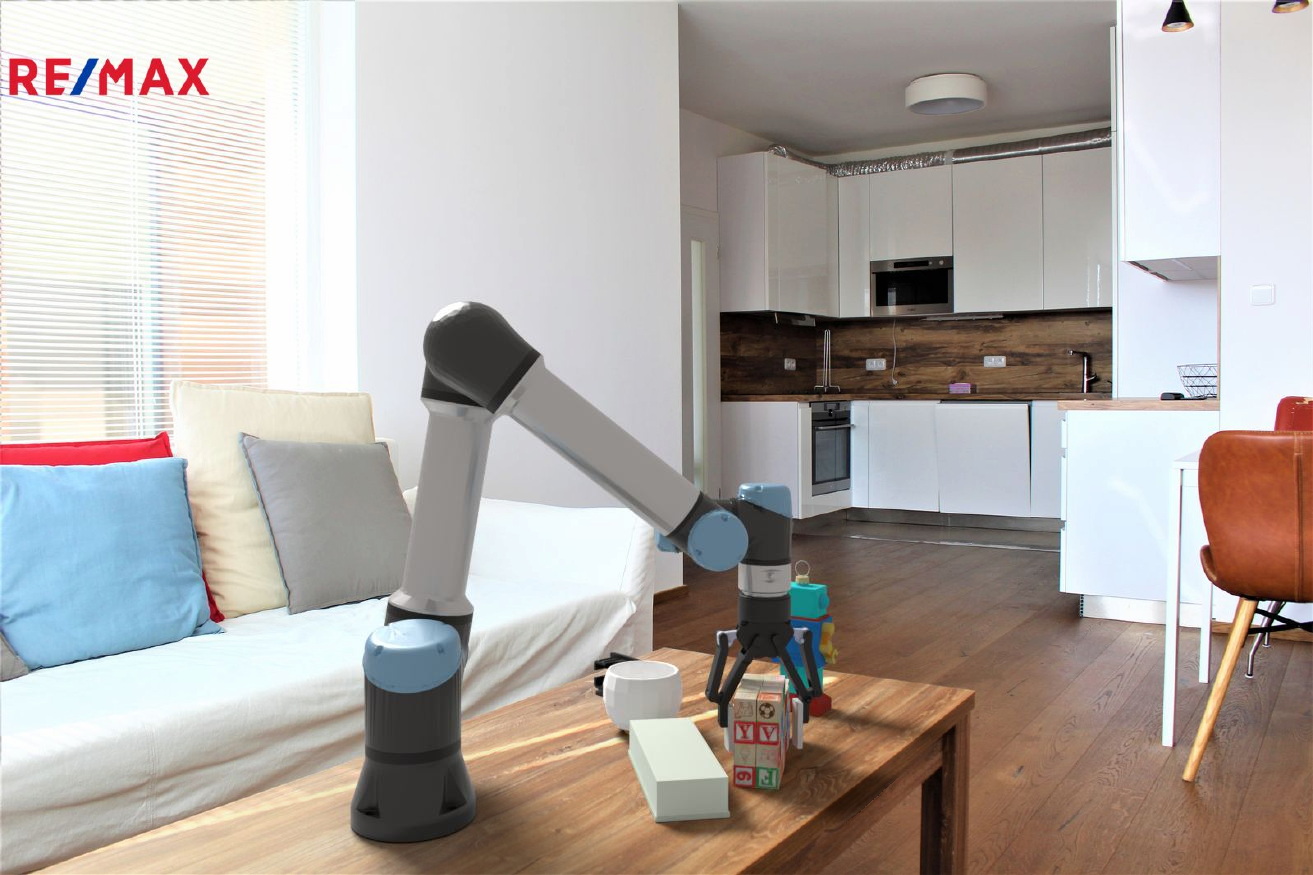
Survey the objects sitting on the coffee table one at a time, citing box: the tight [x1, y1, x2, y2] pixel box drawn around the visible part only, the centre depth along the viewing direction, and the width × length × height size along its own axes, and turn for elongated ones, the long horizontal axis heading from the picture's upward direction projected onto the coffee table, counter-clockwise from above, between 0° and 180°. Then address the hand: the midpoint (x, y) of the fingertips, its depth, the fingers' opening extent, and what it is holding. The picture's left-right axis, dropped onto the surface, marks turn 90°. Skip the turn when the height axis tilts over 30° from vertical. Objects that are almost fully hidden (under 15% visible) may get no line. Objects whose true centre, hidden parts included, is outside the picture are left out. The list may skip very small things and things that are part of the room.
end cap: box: [593, 651, 644, 698], centre depth 179 cm, size 10×7×7 cm
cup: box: [602, 660, 683, 735], centre depth 161 cm, size 12×12×10 cm
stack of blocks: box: [732, 672, 791, 790], centre depth 148 cm, size 21×6×12 cm, turn 169°
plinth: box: [627, 716, 731, 823], centre depth 139 cm, size 9×24×5 cm, turn 9°
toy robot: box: [770, 560, 839, 717], centre depth 172 cm, size 12×6×25 cm, turn 58°
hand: (763, 747), depth 148 cm, fingers open, 9 cm apart
